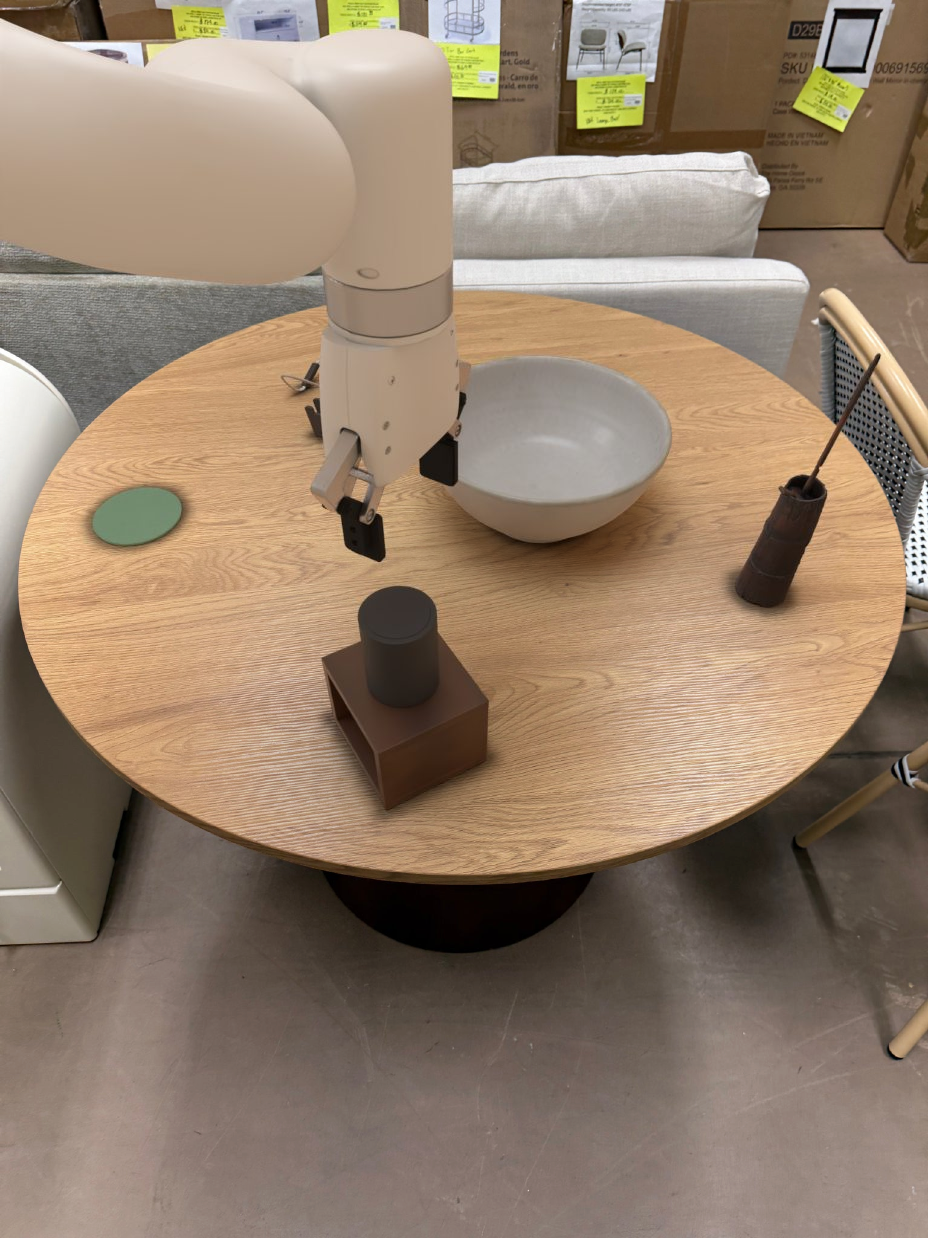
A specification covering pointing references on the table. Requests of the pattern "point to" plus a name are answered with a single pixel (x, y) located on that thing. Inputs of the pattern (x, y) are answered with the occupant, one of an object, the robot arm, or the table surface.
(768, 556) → the butter churn
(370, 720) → the box
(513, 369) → the decorative bowl
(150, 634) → the table surface
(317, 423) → the clip-on lamp
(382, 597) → the dark brown cylinder
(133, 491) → the mat
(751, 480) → the table surface
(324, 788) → the table surface
